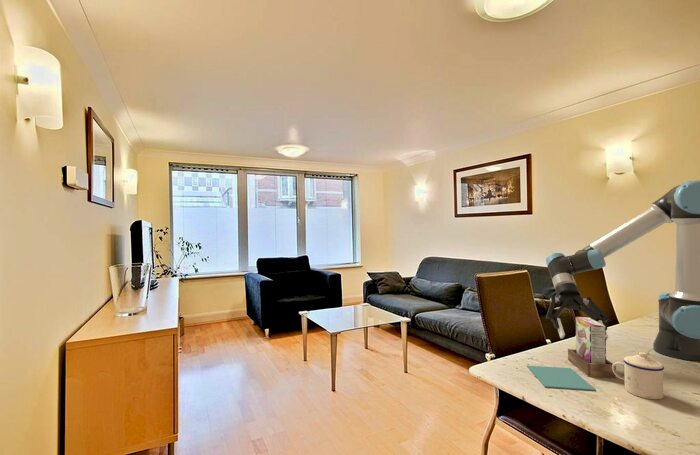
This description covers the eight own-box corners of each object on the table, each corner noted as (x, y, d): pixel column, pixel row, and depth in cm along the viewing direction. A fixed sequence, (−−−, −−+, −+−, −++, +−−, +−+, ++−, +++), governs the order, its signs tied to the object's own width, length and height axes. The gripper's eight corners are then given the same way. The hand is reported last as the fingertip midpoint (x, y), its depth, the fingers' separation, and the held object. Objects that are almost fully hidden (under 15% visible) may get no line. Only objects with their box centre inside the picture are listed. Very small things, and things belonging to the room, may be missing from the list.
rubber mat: (570, 369, 117) (570, 368, 117) (595, 390, 102) (595, 389, 102) (527, 366, 120) (527, 365, 120) (544, 387, 104) (544, 386, 104)
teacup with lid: (667, 393, 100) (666, 353, 100) (661, 403, 94) (660, 361, 94) (616, 379, 109) (616, 343, 109) (607, 388, 103) (607, 349, 103)
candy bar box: (575, 361, 124) (574, 316, 124) (590, 362, 123) (590, 317, 123) (590, 374, 113) (589, 324, 113) (607, 375, 112) (606, 325, 112)
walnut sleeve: (592, 361, 125) (592, 350, 125) (615, 377, 111) (615, 365, 111) (567, 359, 126) (567, 349, 126) (587, 376, 112) (587, 363, 112)
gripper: (597, 294, 135) (619, 345, 120) (529, 291, 140) (542, 340, 125) (605, 282, 130) (629, 334, 115) (533, 280, 134) (548, 330, 120)
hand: (584, 338), depth 120 cm, fingers open, 13 cm apart
